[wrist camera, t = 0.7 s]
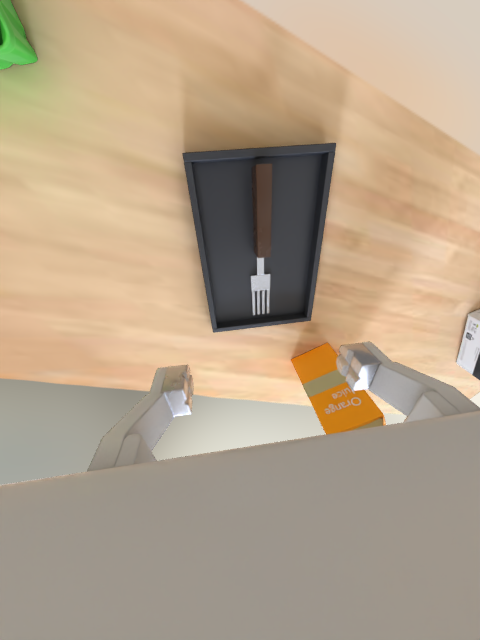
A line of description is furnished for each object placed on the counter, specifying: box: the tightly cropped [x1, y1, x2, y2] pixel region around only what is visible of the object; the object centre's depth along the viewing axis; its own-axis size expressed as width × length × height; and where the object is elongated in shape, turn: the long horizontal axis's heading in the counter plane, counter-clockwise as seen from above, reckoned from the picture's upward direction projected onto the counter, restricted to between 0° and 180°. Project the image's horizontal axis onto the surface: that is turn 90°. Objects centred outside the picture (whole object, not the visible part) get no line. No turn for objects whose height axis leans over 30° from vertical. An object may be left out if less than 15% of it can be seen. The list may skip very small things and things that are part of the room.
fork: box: [250, 163, 272, 315], centre depth 26 cm, size 18×3×3 cm, turn 4°
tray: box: [183, 143, 336, 332], centre depth 26 cm, size 21×15×2 cm
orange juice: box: [291, 343, 386, 434], centre depth 32 cm, size 8×9×20 cm
